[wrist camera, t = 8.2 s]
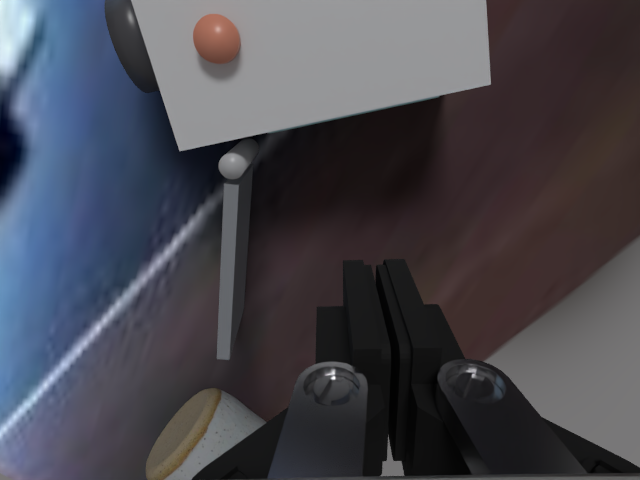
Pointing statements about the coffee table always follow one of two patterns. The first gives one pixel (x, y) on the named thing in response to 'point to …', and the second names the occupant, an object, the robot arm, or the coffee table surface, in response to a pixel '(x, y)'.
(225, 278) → the side door
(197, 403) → the ceramic mug
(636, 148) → the coffee table surface
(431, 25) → the camera body
